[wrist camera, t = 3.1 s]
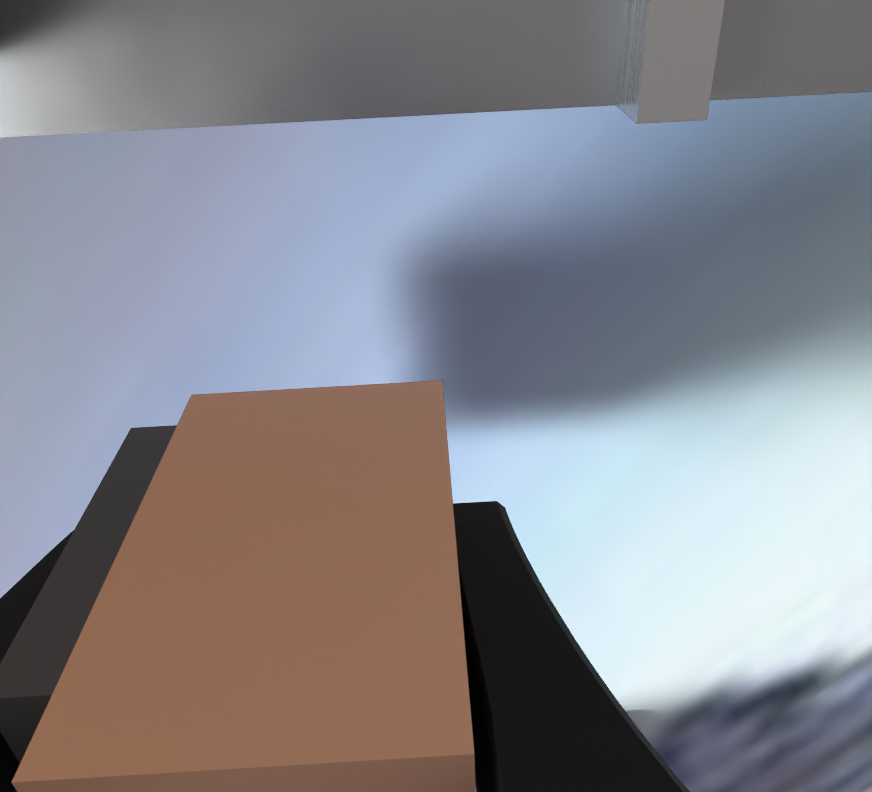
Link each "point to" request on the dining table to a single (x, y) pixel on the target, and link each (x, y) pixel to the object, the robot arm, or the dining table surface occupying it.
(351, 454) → the tan block with backing
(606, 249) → the dining table surface
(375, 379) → the dining table surface
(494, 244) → the dining table surface
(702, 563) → the dining table surface
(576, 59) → the rail
